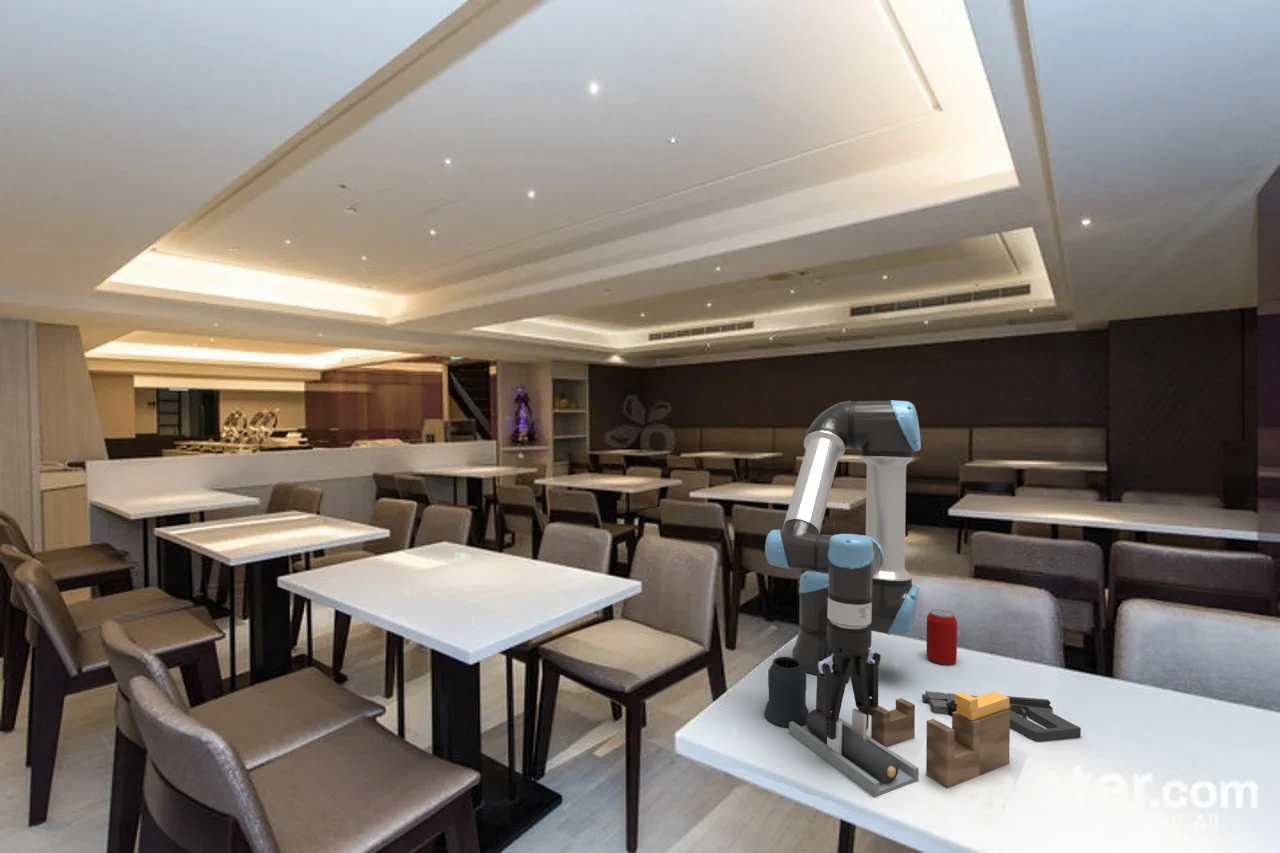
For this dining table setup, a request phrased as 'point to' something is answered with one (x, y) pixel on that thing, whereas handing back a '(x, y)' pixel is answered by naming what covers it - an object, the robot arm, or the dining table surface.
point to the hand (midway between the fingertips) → (846, 751)
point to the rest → (893, 723)
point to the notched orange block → (980, 704)
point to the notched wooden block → (967, 747)
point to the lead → (858, 750)
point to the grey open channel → (851, 768)
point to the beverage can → (941, 636)
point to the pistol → (1017, 716)
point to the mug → (786, 693)
